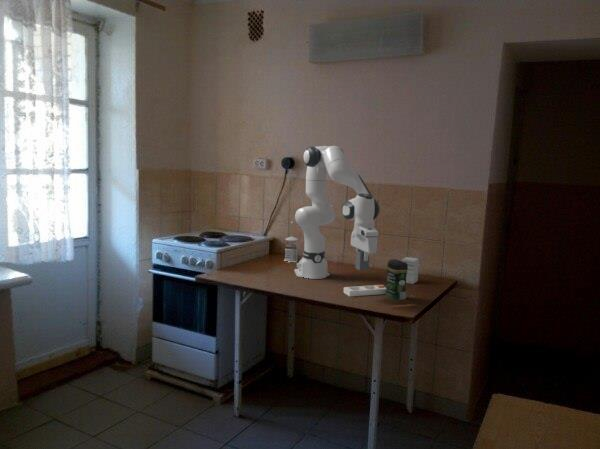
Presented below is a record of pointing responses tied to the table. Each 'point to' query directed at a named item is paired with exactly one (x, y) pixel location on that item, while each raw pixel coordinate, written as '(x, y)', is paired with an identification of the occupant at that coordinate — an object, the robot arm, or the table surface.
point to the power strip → (365, 290)
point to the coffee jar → (396, 279)
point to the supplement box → (411, 269)
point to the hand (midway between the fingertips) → (362, 259)
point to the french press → (291, 250)
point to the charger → (361, 261)
